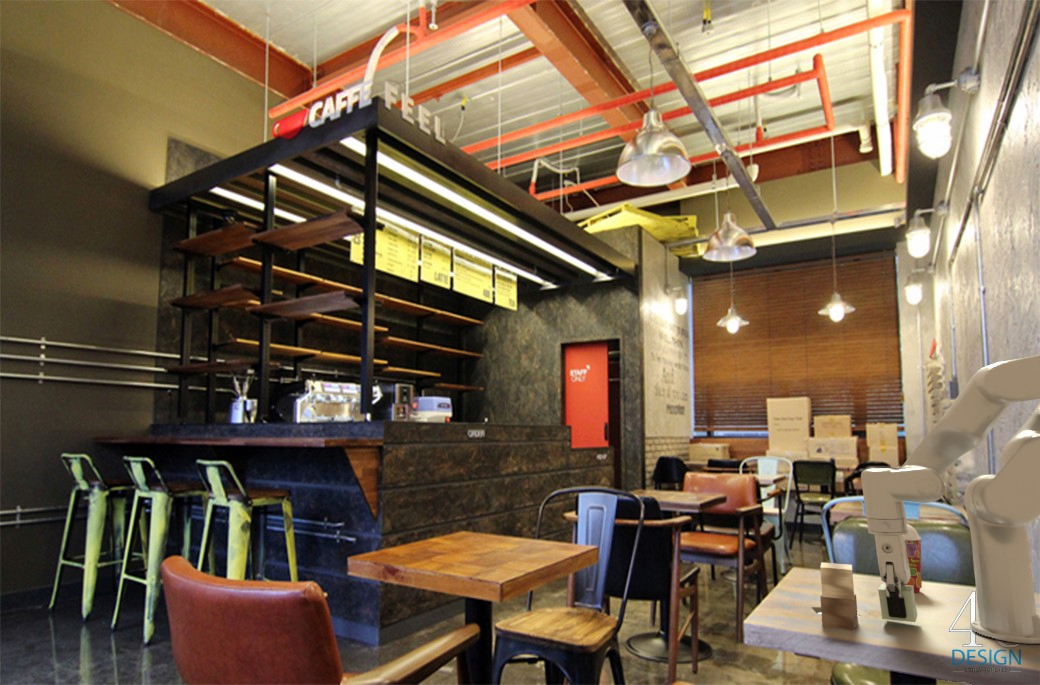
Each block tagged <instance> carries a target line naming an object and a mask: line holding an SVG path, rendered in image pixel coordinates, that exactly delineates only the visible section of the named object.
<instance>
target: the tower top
mask: <svg viewBox="0 0 1040 685" xmlns="http://www.w3.org/2000/svg"><path fill="white" fill-rule="evenodd" d="M819 570H820V581H821V595H822V597H830V598H839V599H849V600H854V594H855V590H854V575H853V564H848V563H847V564H844V563H834V562H833V563H832V562H820V569H819Z"/></svg>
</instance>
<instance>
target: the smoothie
mask: <svg viewBox="0 0 1040 685" xmlns="http://www.w3.org/2000/svg"><path fill="white" fill-rule="evenodd" d="M907 529H908V534H905V535H903V536H904V540H905V545H906V551H907V557H908V563H909V568H910V574H911V577H910V580H909V582H908V583H907V584H905V585H908V586H913V588H914V594H919V593H921V592H920V591H921V589H922V587H923V581H922V579H923V577H922V537H921V536H920V534H919V533H918V531H917V530H916V528H914V527H913V526H912V525H911V524H908V523H907Z"/></svg>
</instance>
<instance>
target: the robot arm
mask: <svg viewBox="0 0 1040 685" xmlns="http://www.w3.org/2000/svg"><path fill="white" fill-rule="evenodd" d="M1033 400H1038V402H1037V406H1036V407H1035V409H1034V411H1033V412H1032V413H1031V415H1030V416H1029V417H1028V419H1027V421H1026V422H1024V423H1023V425H1022V426H1021V427H1020V428H1019V430H1018V431H1017V432H1016V433H1015V434H1014V436H1012V438H1011V439H1010V440H1009V441H1008V442H1007V443H1006V444H1005V446H1004V447H1003V449H1002V452H1001V457H1000V458H1001V462H1002V464H1003V467H1002V468H1001V469H1000V470H999V471H998V472H997V474H982V475H980V476H978V477H975V478H974V479H972V480H970V482H969V483H968V485H966V488H965V492H964V507H965V511H966V515H967V519H968V525H969V526H968V527H969V531H970V538H971V547H972V560H973V570H974V571H973V572H974V579H975V590H976V592H975V593H976V601H977V609H978V619H979V620H974V621H972V622H970V629H971V630H972V631H973V632H974V633H976V632H977V633H976V634H978V633H979V634H978V635H980V634H982V635H981V636H983V635H986V636H990V637H994V638H996V639H995V640H998V641H1005V642H1010V643H1017V644H1028V645H1029V644H1030V645H1040V615H1039V612H1038V611H1037V602H1036V596H1035V586H1034V578H1033V570H1032V568H1033V567H1032V560H1031V549H1030V542H1029V536H1028V532H1027V529H1026V526H1028V525H1029V524H1031V523H1033V522H1035V521H1036V519H1038V518H1039V517H1040V354H1036V355H1031V356H1026V357H1021V358H1016V359H1009V360H1003V361H998V362H995V363H991V364H989V365H986V366H984V367H982V368H979V369H978V370H977V371H976V372H975V373H974V374H973V375H972V377H971V378H970V379H969V380H968V382H967V383H966V384H965V386H964V388H962V390H961V391H960V393H959V394H958V395H957V397H956V398H955V399H954V401H953V402H952V404H951V405H950V406H949V407H948V408H947V410H946V412H945V413H944V414H943V415H942V416H941V418H940V419H939V420H938V422H937V423H936V424H935V425H934V426H933V427H932V429H931V430H930V431H929V432H928V433H927V435H926V436H925V437H924V438H923V439H922V440H921V441H920V443H919V444H918V445H917V446H916V448H914V450H913V451H912V452H911V454H910V455H909V457H908V458H906V461H904V463H903V465H901V468H900V469H894V468H890V467H889V468H887V467H885V468H882V467H881V468H879V467H878V468H877V467H876V468H868V469H867V468H866V469H864V470H862V471H861V474H860V479H861V480H860V481H861V487H862V493H863V500H864V501H863V502H864V508H865V517H866V523H867V530H868V534H871V535H874V541H875V547H876V548H875V549H876V556H877V557H876V558H877V563H878V568H879V575H880V579H881V581H882V582H883V583H884V584H886V593H887V596H886V598H887V606H888V613H889V616H890V617H895V618H906V617H907V615H906V608H905V601H904V598H902V589H901V585H905V584H907V583H908V582H909V580H910V577H911V574H910V568H909V563H908V557H907V551H906V545H905V540H904V536H903V535H905V534H908V529H907V524H908V523H907V517H906V510H905V503H904V502H913V503H921V504H930V503H931V504H932V503H934V502H937V501H939V500H940V499H941V498H943V496H944V495H945V493H946V489H947V485H946V484H947V483H946V482H945V479H944V478H943V476H944V475H945V474H946V472H947V471H948V470H949V469H950V467H952V465H953V464H955V462H956V461H957V460H959V459H960V458H961V457H962V456H964V455H965V454H967V453H969V452H971V451H972V450H974V449H976V448H977V447H978V446H979V445H981V444H982V443H983V442H984V441H985V439H986V438H987V436H988V435H989V434H990V433H991V431H992V429H993V428H994V427H995V426H996V424H997V423H998V421H999V420H1000V419H1001V418H1002V416H1003V415H1004V414H1005V412H1006V411H1007V410H1008V409H1009V407H1010V406H1011V405H1012V404H1013V403H1019V402H1027V401H1033ZM897 586H898V588H897ZM986 636H985V637H986Z"/></svg>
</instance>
